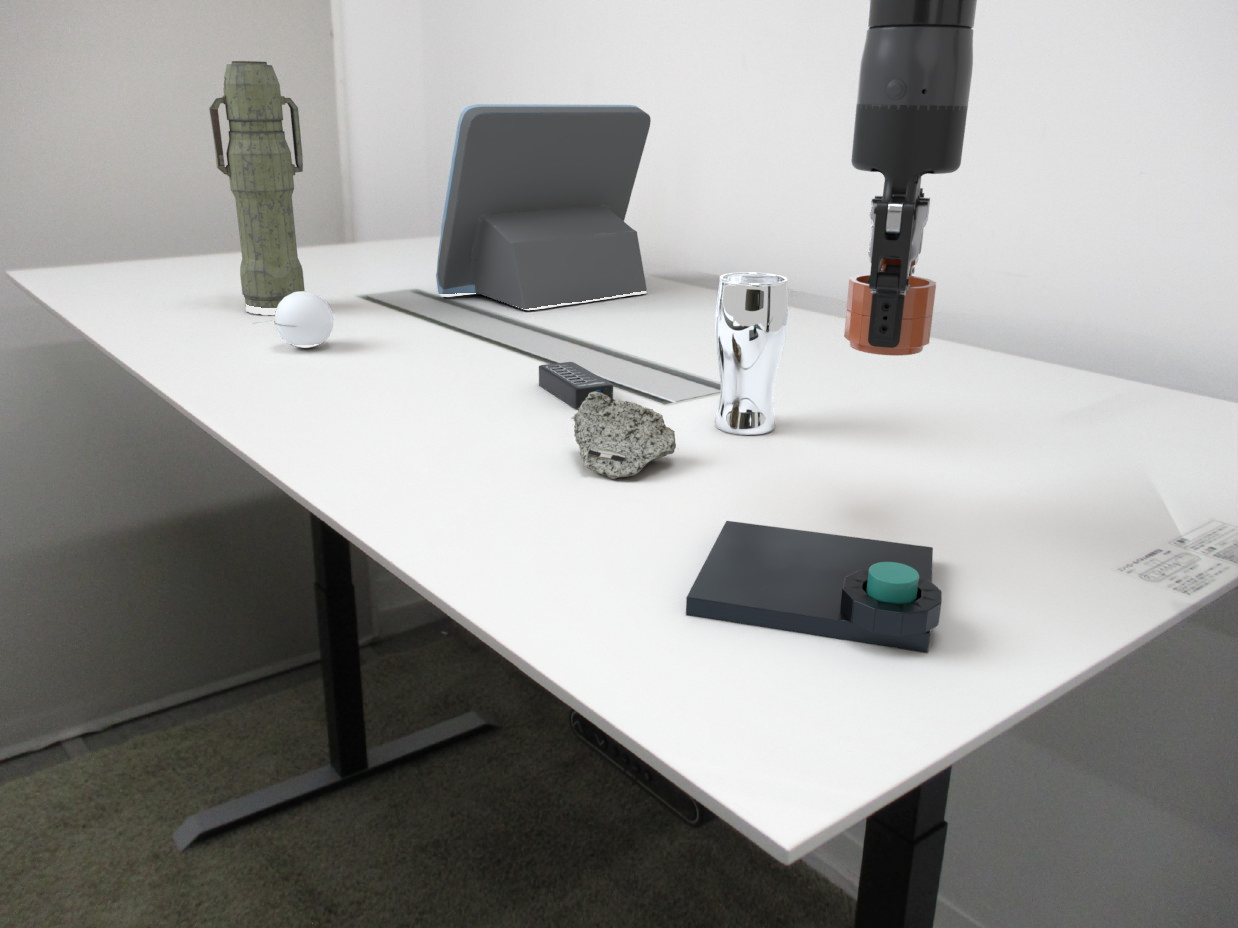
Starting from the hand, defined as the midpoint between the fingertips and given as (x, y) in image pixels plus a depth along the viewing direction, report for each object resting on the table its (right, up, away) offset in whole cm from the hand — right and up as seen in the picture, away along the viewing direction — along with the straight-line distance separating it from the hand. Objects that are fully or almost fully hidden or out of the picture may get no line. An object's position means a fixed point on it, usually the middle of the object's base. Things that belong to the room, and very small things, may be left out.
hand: (886, 335), depth 76 cm
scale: (-7, -18, -7) cm, 21 cm away
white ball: (-62, +5, +54) cm, 83 cm away
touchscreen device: (-31, +18, +92) cm, 99 cm away
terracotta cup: (0, -1, 0) cm, 1 cm away
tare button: (-3, -18, -14) cm, 23 cm away
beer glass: (-7, -6, +26) cm, 28 cm away
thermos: (-72, +14, +77) cm, 107 cm away
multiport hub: (-25, -2, +36) cm, 44 cm away
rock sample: (-19, -10, +15) cm, 27 cm away
